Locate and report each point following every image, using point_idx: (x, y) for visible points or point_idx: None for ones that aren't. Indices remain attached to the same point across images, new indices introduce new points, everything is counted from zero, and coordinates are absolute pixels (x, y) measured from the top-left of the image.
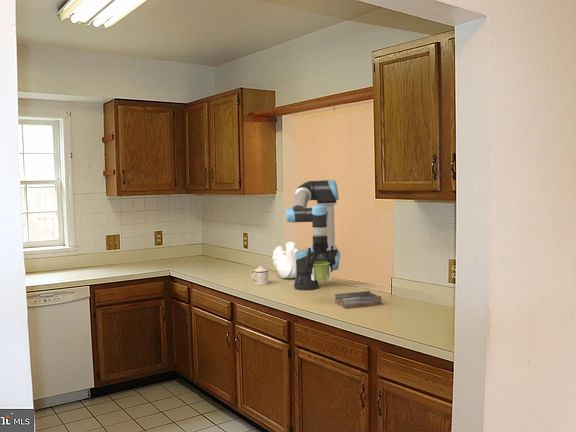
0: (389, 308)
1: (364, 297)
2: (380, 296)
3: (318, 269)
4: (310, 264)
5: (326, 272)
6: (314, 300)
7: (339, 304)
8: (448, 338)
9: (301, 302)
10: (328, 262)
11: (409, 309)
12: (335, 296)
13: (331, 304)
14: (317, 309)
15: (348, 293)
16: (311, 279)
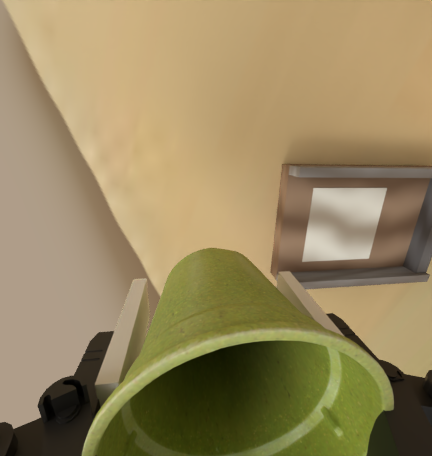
0: (386, 309)
1: (404, 195)
2: (424, 281)
3: (177, 430)
4: (62, 451)
5: (258, 378)
6: (213, 68)
7: (277, 217)
8: None
9: (133, 80)
10: (374, 438)
11: (419, 333)
12: (294, 175)
13: (254, 188)
14: (171, 244)
15: (364, 177)
16: (133, 281)
